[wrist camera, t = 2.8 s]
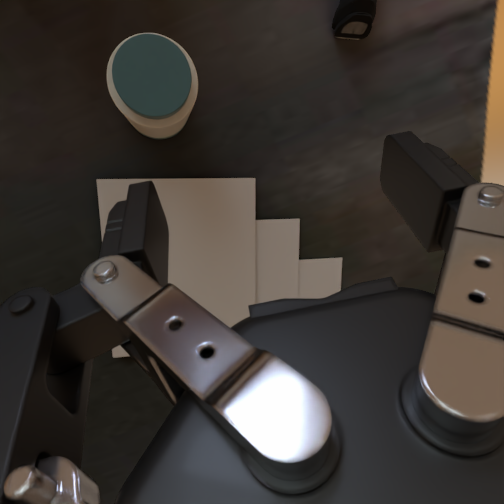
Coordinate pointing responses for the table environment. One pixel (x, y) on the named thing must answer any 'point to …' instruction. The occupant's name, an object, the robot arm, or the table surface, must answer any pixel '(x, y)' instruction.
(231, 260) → the paper stack
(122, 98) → the bottle with teal cap
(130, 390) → the table surface
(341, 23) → the electric trimmer
